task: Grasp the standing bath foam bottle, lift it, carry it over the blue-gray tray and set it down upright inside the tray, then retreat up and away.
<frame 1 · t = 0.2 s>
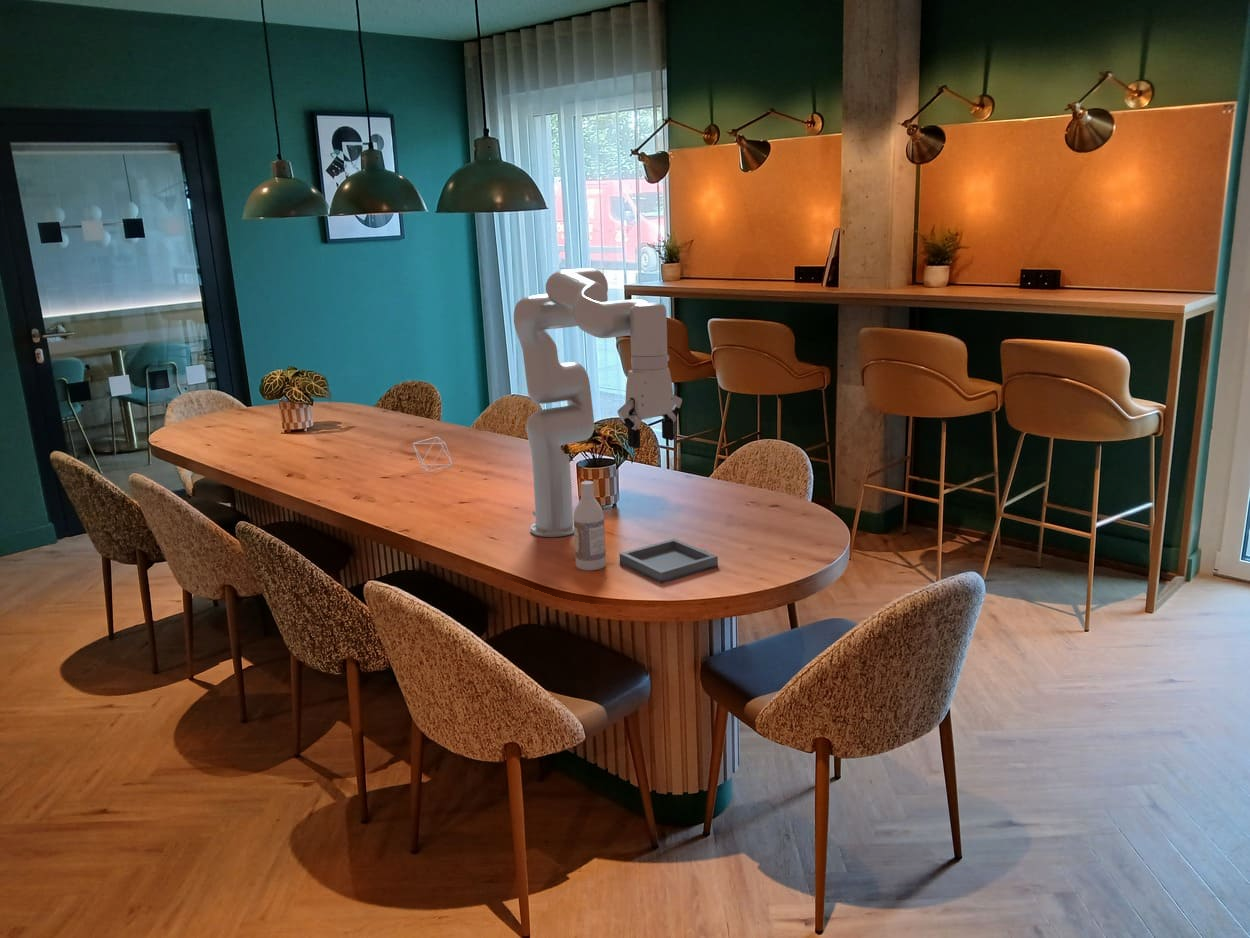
hand: (651, 443, 202), 31 cm above the table, fingers open, 9 cm apart
bath foam: (591, 566, 220), on the table
geometric polyhedron: (434, 468, 313), on the table
blue-gray tray: (668, 565, 218), on the table
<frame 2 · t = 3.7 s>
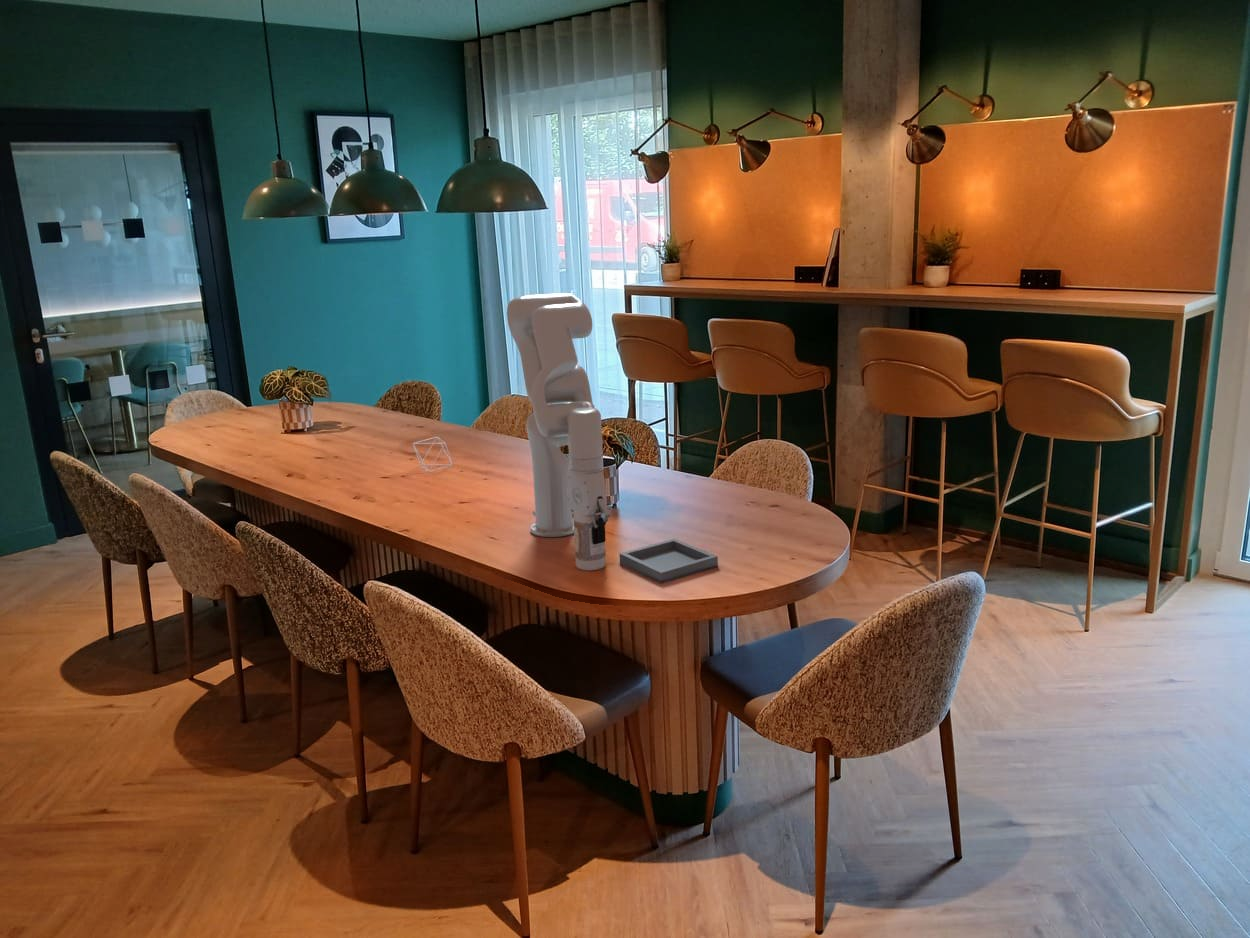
hand: (589, 538, 218), 7 cm above the table, fingers closed on bath foam, 7 cm apart
bath foam: (591, 566, 220), on the table, touching gripper
everything else where it was.
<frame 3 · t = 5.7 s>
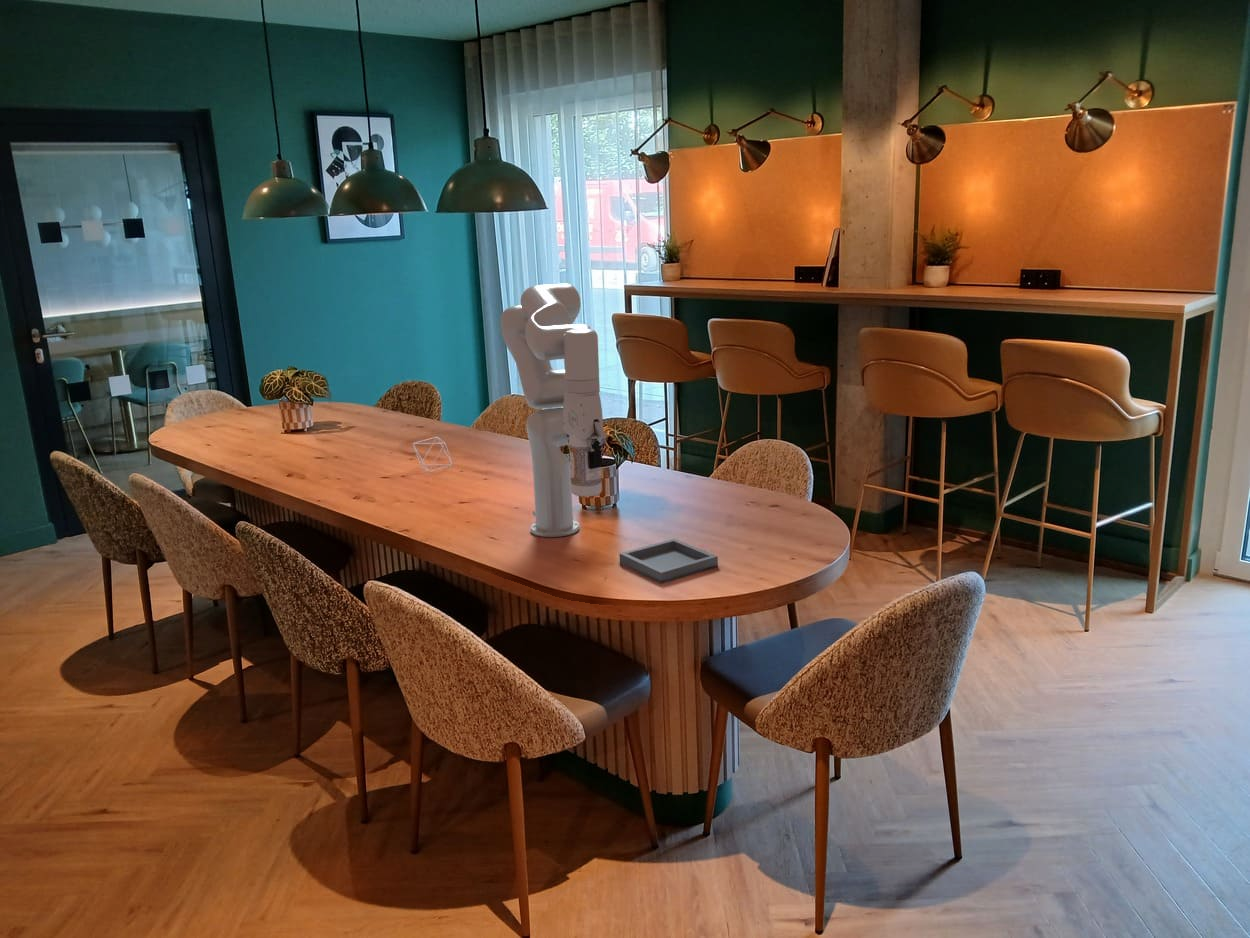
hand: (585, 463, 214), 24 cm above the table, fingers closed on bath foam, 7 cm apart
bath foam: (586, 493, 216), point 17 cm above the table, touching gripper
everything else where it was.
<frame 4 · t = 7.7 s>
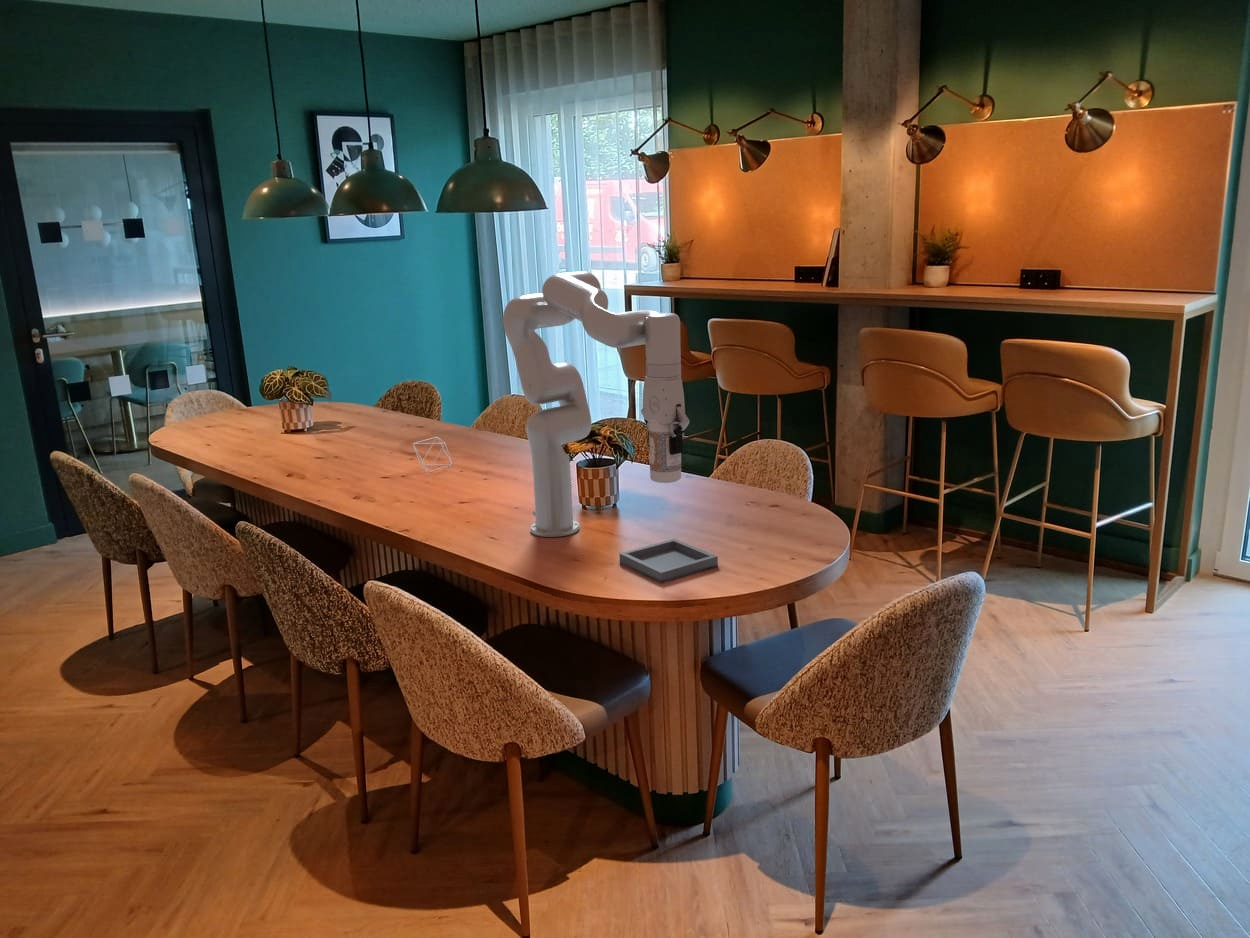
hand: (665, 449, 211), 27 cm above the table, fingers closed on bath foam, 7 cm apart
bath foam: (665, 480, 213), point 20 cm above the table, touching gripper
everything else where it was.
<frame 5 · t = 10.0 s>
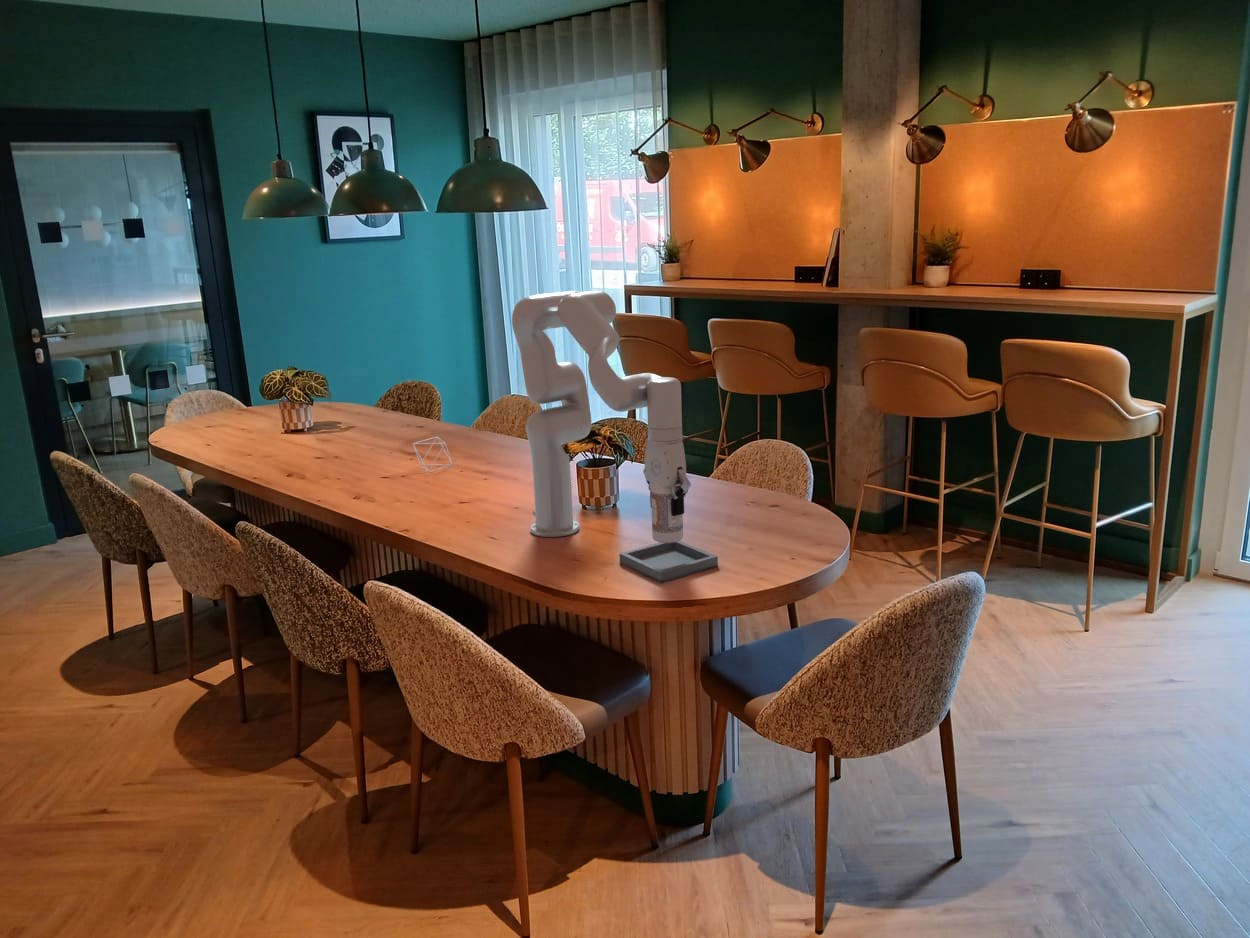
hand: (667, 510, 215), 13 cm above the table, fingers closed on bath foam, 7 cm apart
bath foam: (667, 539, 217), point 6 cm above the table, touching gripper
everything else where it was.
when the fingers open (9 cm above the table, at t = 12.0 s): bath foam drops 1 cm, resting on blue-gray tray.
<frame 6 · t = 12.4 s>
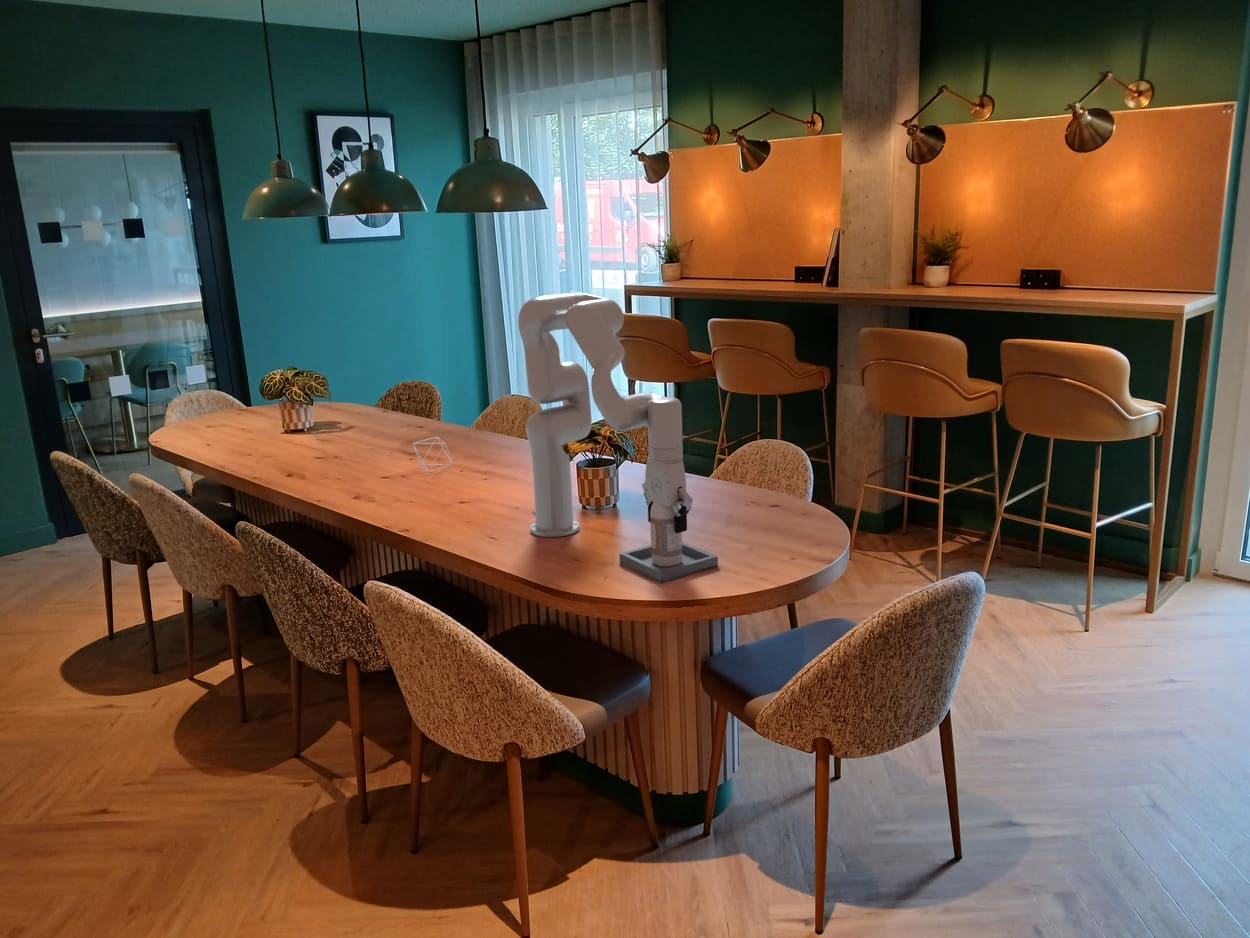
hand: (667, 526, 216), 9 cm above the table, fingers open, 9 cm apart
bath foam: (667, 563, 218), resting on blue-gray tray
everything else where it was.
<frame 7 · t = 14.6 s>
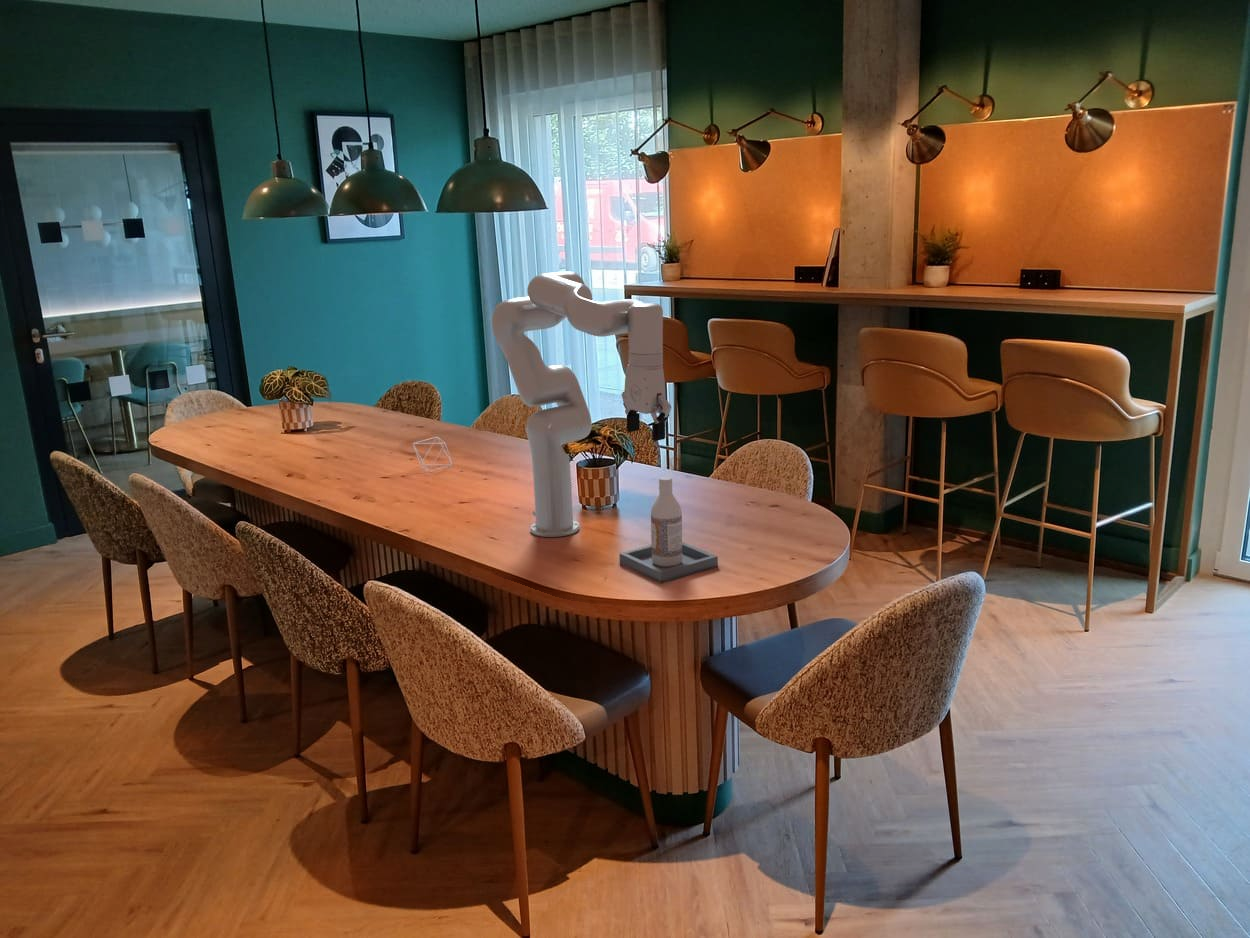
hand: (645, 435, 215), 30 cm above the table, fingers open, 9 cm apart
nothing on the table moved.
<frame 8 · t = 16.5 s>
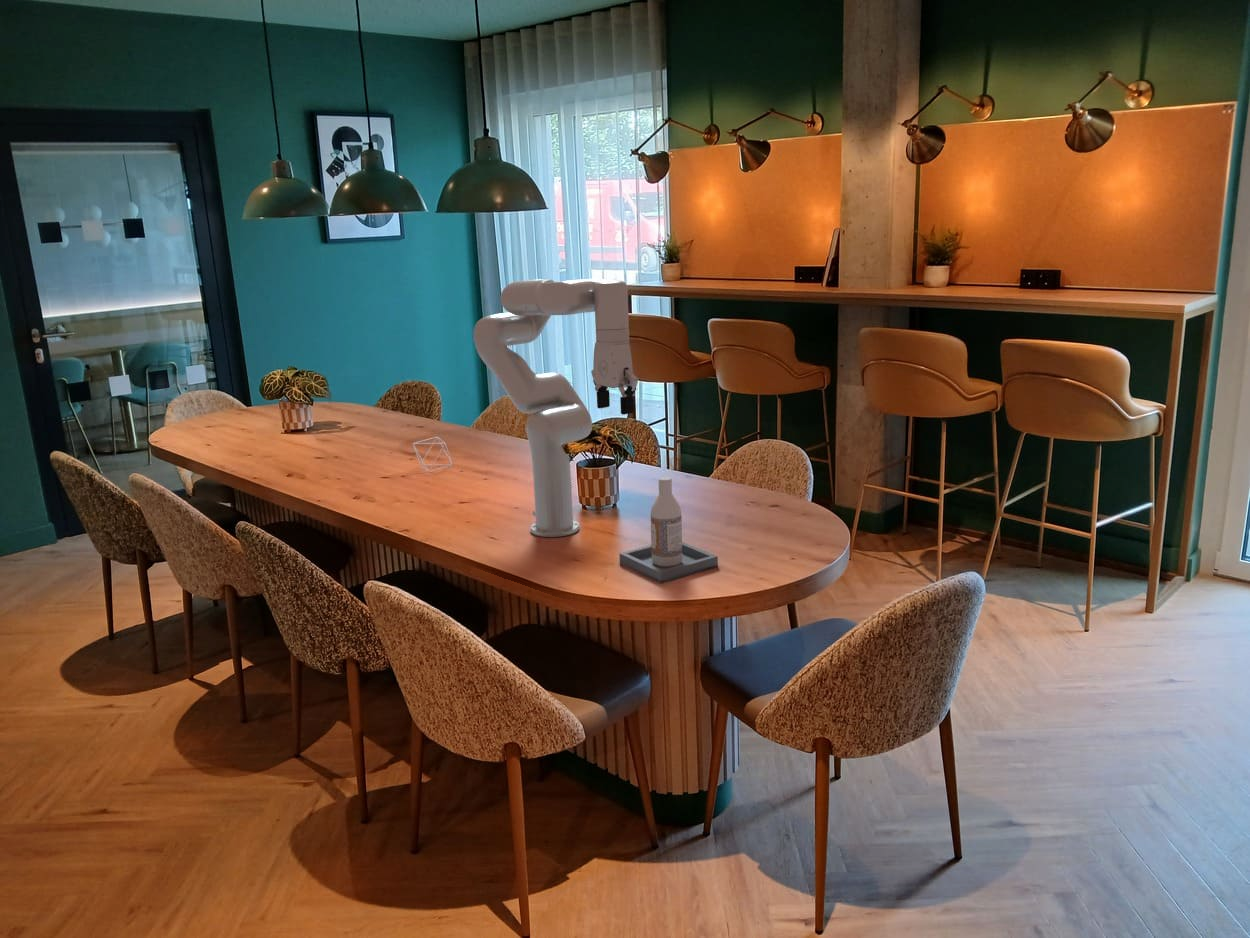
hand: (615, 410, 220), 34 cm above the table, fingers open, 9 cm apart
nothing on the table moved.
at the end: bath foam inside the target area on the blue-gray tray (0.3 cm from its centre), point 0.4 cm above the blue-gray tray's base; bath foam tilted 0°; the gripper is holding nothing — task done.
